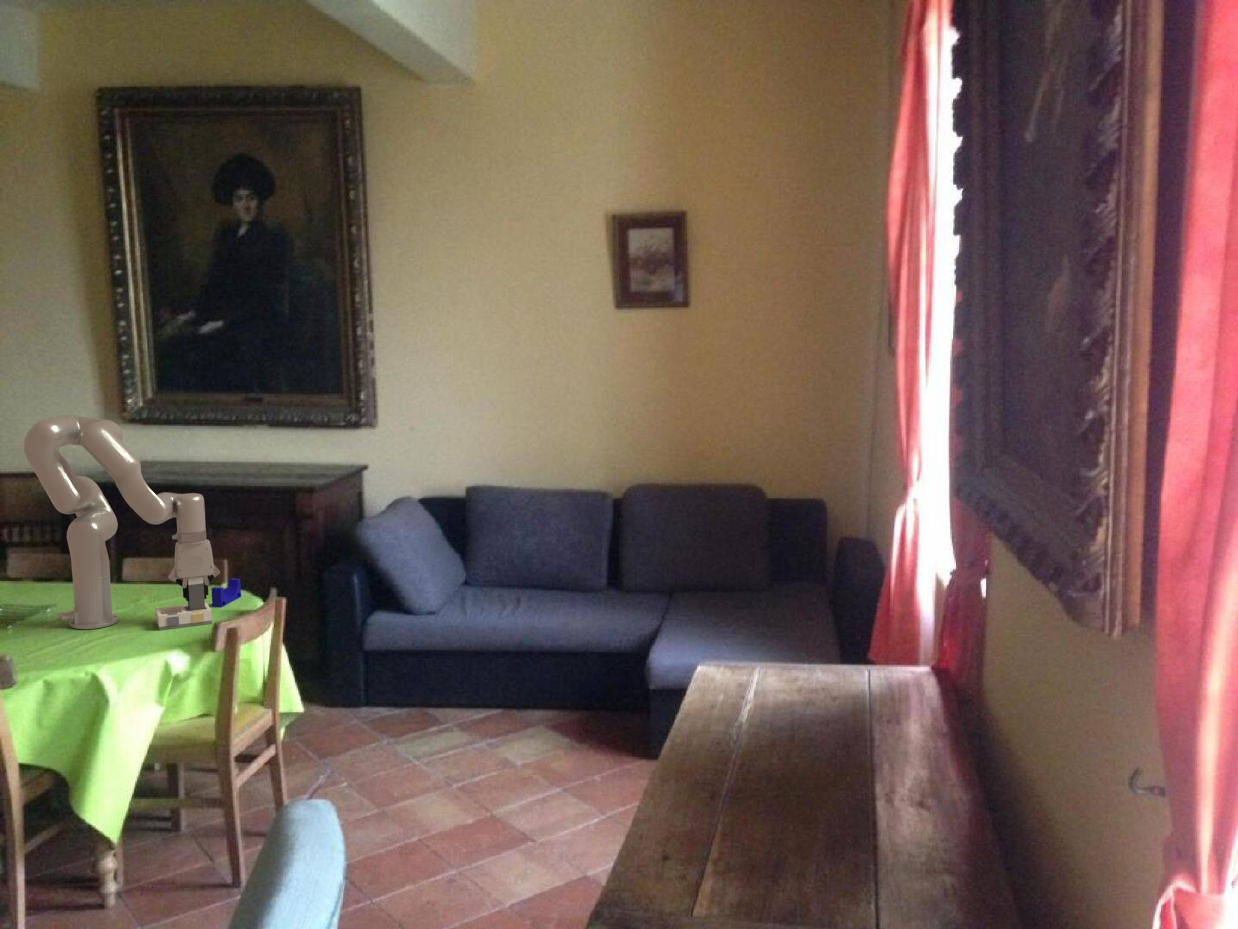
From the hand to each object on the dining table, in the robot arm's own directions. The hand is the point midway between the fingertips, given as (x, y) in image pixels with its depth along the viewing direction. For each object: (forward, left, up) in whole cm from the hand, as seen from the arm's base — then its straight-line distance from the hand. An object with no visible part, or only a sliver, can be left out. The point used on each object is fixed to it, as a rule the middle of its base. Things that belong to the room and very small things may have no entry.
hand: (196, 598), depth 306 cm
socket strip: (-4, 0, -7) cm, 8 cm away
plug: (0, 0, -3) cm, 3 cm away
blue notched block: (+10, +18, -7) cm, 22 cm away
